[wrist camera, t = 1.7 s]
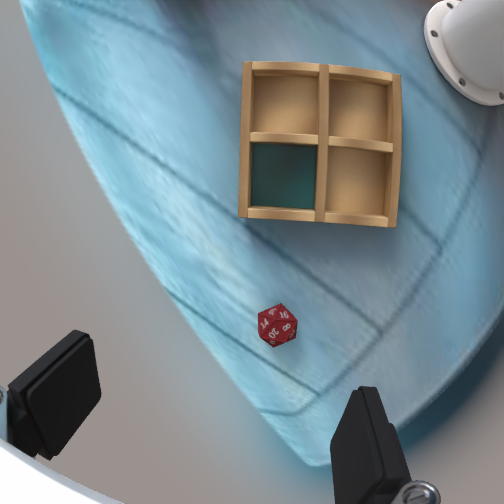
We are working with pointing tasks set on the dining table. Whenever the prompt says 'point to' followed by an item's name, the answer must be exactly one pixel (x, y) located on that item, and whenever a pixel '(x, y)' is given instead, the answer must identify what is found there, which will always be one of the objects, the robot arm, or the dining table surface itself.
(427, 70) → the dining table surface
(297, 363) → the dining table surface
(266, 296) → the dining table surface
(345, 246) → the dining table surface
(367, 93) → the wooden compartment tray
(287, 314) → the dice
